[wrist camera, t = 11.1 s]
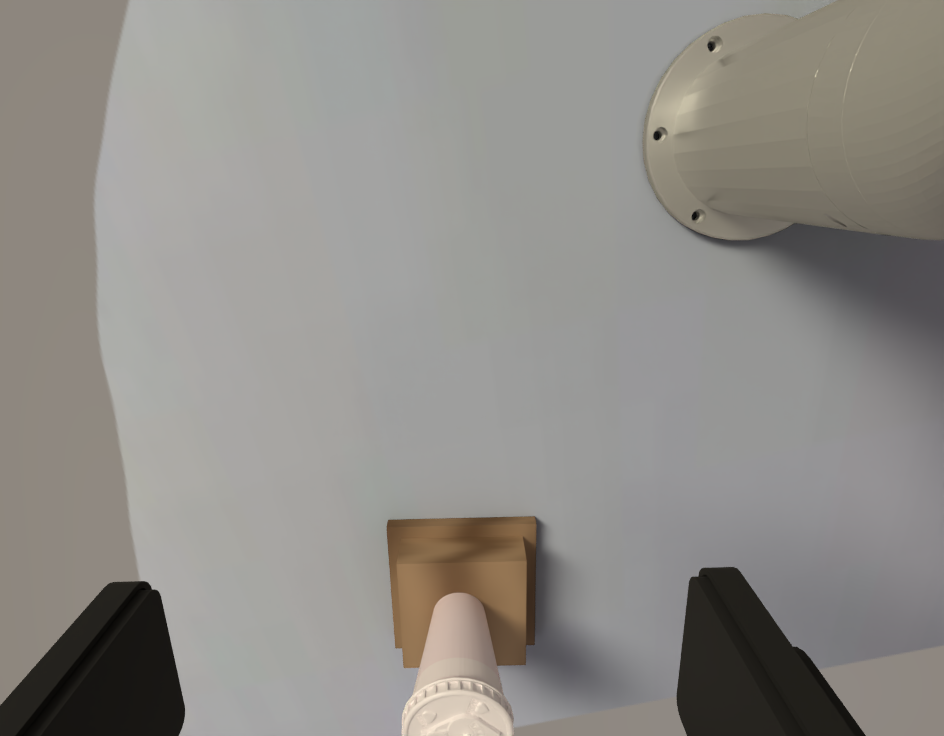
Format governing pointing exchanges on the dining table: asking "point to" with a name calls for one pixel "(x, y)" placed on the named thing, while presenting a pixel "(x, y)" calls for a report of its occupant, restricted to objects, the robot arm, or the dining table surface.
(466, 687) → the smoothie
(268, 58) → the dining table surface
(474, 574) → the pedestal
